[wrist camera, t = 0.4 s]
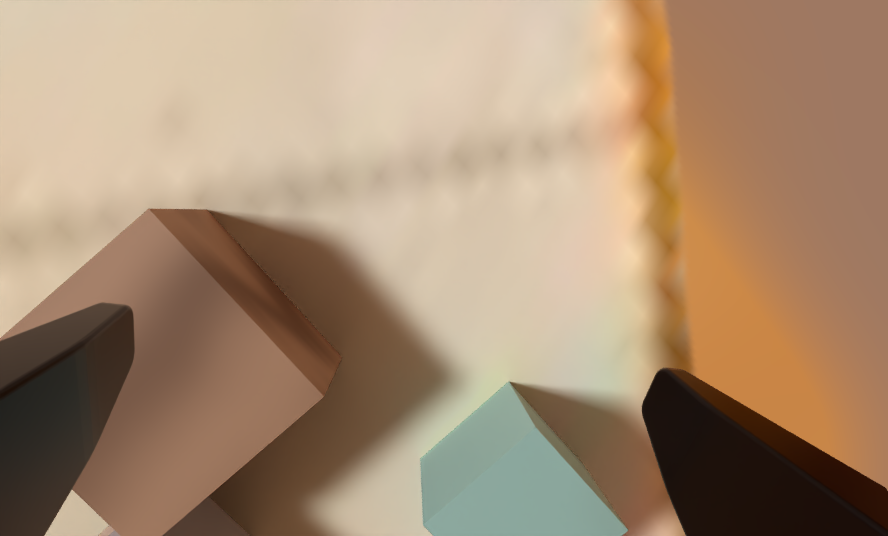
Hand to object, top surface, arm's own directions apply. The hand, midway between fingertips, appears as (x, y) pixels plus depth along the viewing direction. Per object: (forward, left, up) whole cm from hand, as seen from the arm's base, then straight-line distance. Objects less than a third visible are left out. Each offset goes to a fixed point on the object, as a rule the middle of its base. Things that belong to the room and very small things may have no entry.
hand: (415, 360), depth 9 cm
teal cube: (-9, +2, -13) cm, 16 cm away
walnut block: (+3, +8, -13) cm, 16 cm away
